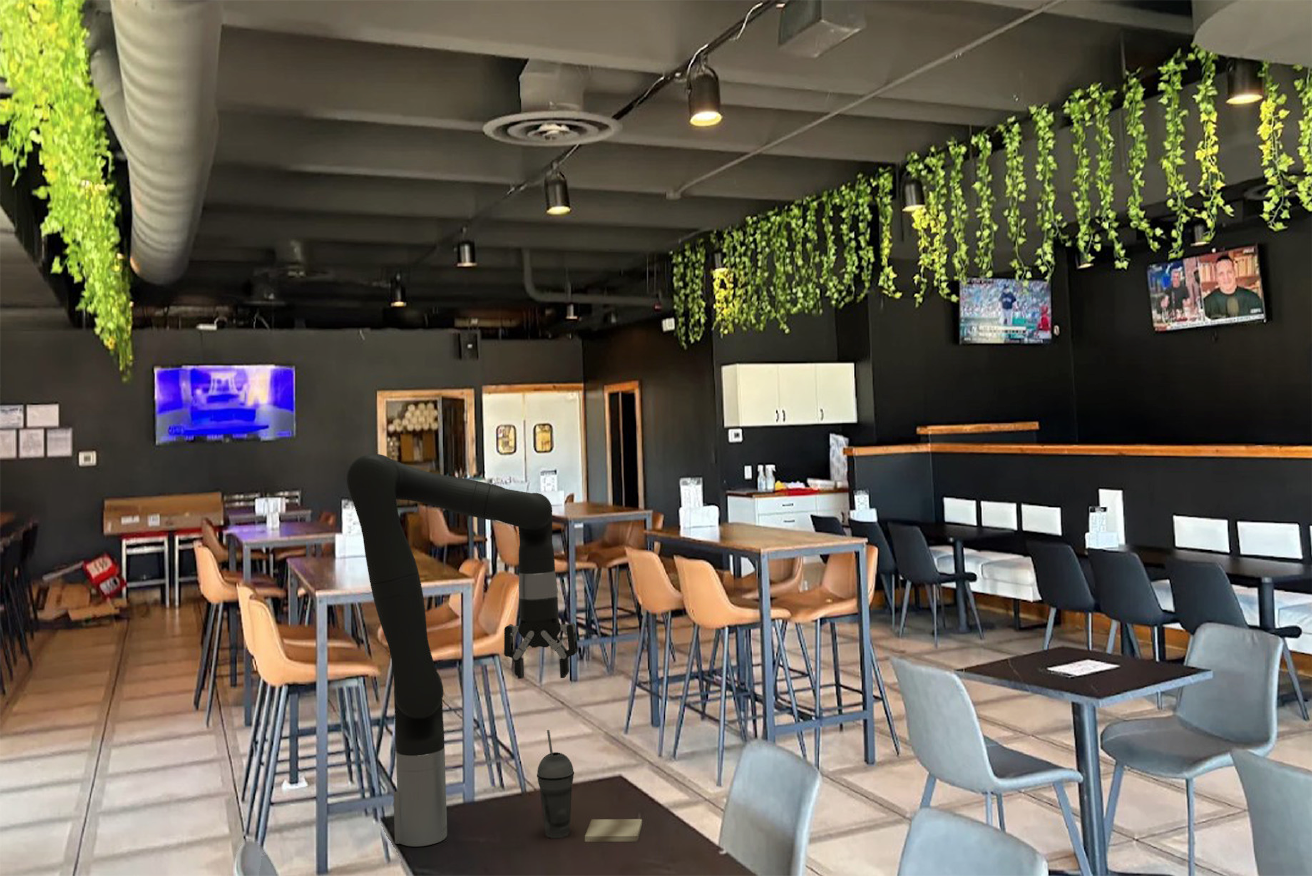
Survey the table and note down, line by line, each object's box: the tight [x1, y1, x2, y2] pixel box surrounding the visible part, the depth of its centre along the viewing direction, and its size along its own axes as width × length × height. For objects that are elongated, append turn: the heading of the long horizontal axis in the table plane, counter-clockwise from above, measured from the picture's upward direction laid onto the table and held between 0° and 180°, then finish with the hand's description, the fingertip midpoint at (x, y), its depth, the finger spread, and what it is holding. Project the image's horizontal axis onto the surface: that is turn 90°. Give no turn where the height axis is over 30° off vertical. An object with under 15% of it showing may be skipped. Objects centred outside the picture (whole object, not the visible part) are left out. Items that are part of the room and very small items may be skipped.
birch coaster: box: [584, 818, 643, 843], centre depth 197 cm, size 10×9×1 cm
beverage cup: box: [536, 729, 575, 839], centre depth 198 cm, size 7×7×20 cm
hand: (542, 677), depth 200 cm, fingers open, 8 cm apart
